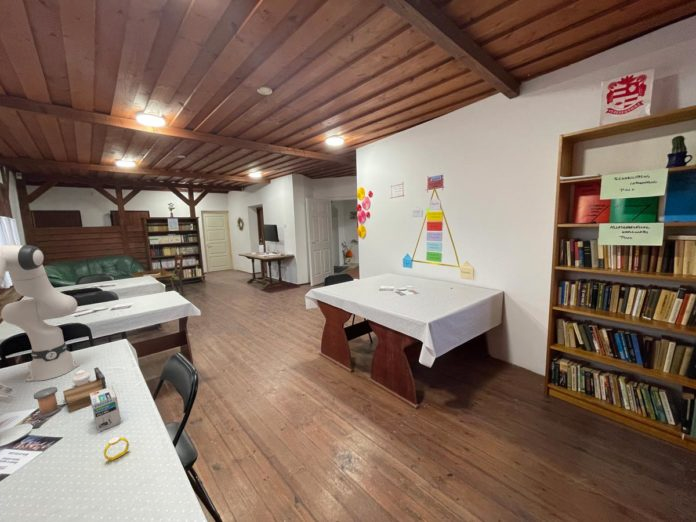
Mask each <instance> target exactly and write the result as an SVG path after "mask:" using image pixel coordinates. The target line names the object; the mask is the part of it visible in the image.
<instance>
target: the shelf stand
mask: <svg viewBox="0 0 696 522" xmlns="http://www.w3.org/2000/svg"><path fill="white" fill-rule="evenodd" d="M93 370H94V374H95V379H94V380H92V381H88V383H85V384H83V385H80V386H77V385H76V386H75V387H71V388H68V389H65V390H63V392H62V393H63V398H64V401H65V402H66V403H67V405H68V411H69V413H74V412H76V411H79V410H81V409H84V408H86V407H90V406H92V404H91V399H90V394H91V393H93V392H97V391H100V390H103V389H106V388H107V384H106V378H105V375H104V374H103V372H102V371H101V370H100V368H99V367H98V366H97V367H95V368H94V367H93Z"/></svg>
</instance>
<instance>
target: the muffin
mask: <svg viewBox="0 0 696 522" xmlns="http://www.w3.org/2000/svg"><path fill="white" fill-rule="evenodd" d="M90 377H91V373H90V372H88V371H86V370H85V369H81V370H77V371H76V372H75V375H74V376H73V377H72V378H71V379H72V380H71V381H72V382H73V384H75V385H76V387H77V386H80V385H83V384H85V383H88V382H90Z"/></svg>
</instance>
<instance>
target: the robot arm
mask: <svg viewBox="0 0 696 522" xmlns="http://www.w3.org/2000/svg"><path fill="white" fill-rule="evenodd" d="M44 260H45V255H44V252H43V251H42V249H41V248H39V247H38V246H35V245H27V244H24V245H21V244H19V245H18V244H0V288H1V287H2V285H3V282H4V279H5V276H6V275H5V274H6V273H7V272H8V275H9V278H10V280H11V282H12V285H13V288H14V290H15V292H16V293H17V294H19V295H20V296H23V297H27V298H31V299H22V300H18V301H13V302H10V303H7V304H6V305H4V306H3V307H2V309H1V312H0V314H1V318H2V320H3V321H4V322H6V323H7V324H10V325H13V326H15V327H18V328H20V330H22V331H24V332H25V334H26V335H27V337H28V340H29V342H30V345H31V346H30V347H31V353H30V354H31V357H32V360H31V361H30V363H28V369H29V373H28V376H27V377H26V379H25V382H26V383H28V382H34V381H35V382H40V381H45V380H46V381H47V380H51V379H54V378H58V377H60V376H63V375H66V374H68V373H69V372H71V371H73V370H74V369H77V368H78V367H80V363H78V362H76V361H74V357H73V353H72V352H71V351H69V350H67V349H68V347H67V344H66V342H65V340H64V334H63V329H61V328H60V326H56V325H54V324H53V325H52V324H49V323H46V322H45V321H48V320H53V319H60V318H64V317H67V316H70V315H73V314H74V313H75V312H76V311H77V308H78V301H77V299H75V297H73V296H72V295H67V294H65V293H63V292H61V291H59V290H58V289H56V288H55V287H54V286H53V285H52V283H51V282H50V279H49V277H48V275H47V272H46V269H45V267H44V265H43V263H44ZM13 391H14V388H13V387H10V386H7V385H5V384H4V383H1V382H0V393H3V394H7V395H3V394H0V403H4V404H11V403H12V402H13V401H14V399H15V397H13V396H11V395H10V394H11V393H12V392H13Z"/></svg>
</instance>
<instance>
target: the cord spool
mask: <svg viewBox="0 0 696 522" xmlns="http://www.w3.org/2000/svg"><path fill="white" fill-rule="evenodd" d="M57 392H58V387H56V386H51V387H46V388H43V389H40V390H39V391H37V392H34V394H33V395H32V396H33V399H34V400H37V403H38V408H39V412H38V413H37V418H38V419H46V418H49V417H52V416H55V415H56V414H58V413H60V412H61V410H62V406H61V405H58V401H57V395H56V393H57Z"/></svg>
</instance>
